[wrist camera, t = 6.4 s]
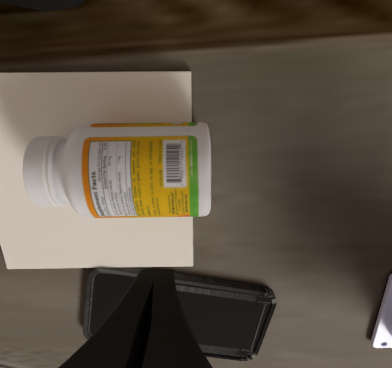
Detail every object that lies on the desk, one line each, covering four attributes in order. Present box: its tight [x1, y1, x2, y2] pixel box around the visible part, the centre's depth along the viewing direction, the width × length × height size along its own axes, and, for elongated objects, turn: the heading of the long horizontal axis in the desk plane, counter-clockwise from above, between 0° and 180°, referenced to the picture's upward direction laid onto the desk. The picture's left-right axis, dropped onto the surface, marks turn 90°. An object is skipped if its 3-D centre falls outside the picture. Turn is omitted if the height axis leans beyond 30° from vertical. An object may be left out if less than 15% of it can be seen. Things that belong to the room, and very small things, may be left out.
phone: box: [83, 267, 276, 361], centre depth 27 cm, size 8×1×15 cm
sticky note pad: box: [0, 71, 193, 269], centre depth 22 cm, size 14×14×1 cm
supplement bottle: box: [23, 122, 211, 218], centre depth 19 cm, size 5×5×10 cm
